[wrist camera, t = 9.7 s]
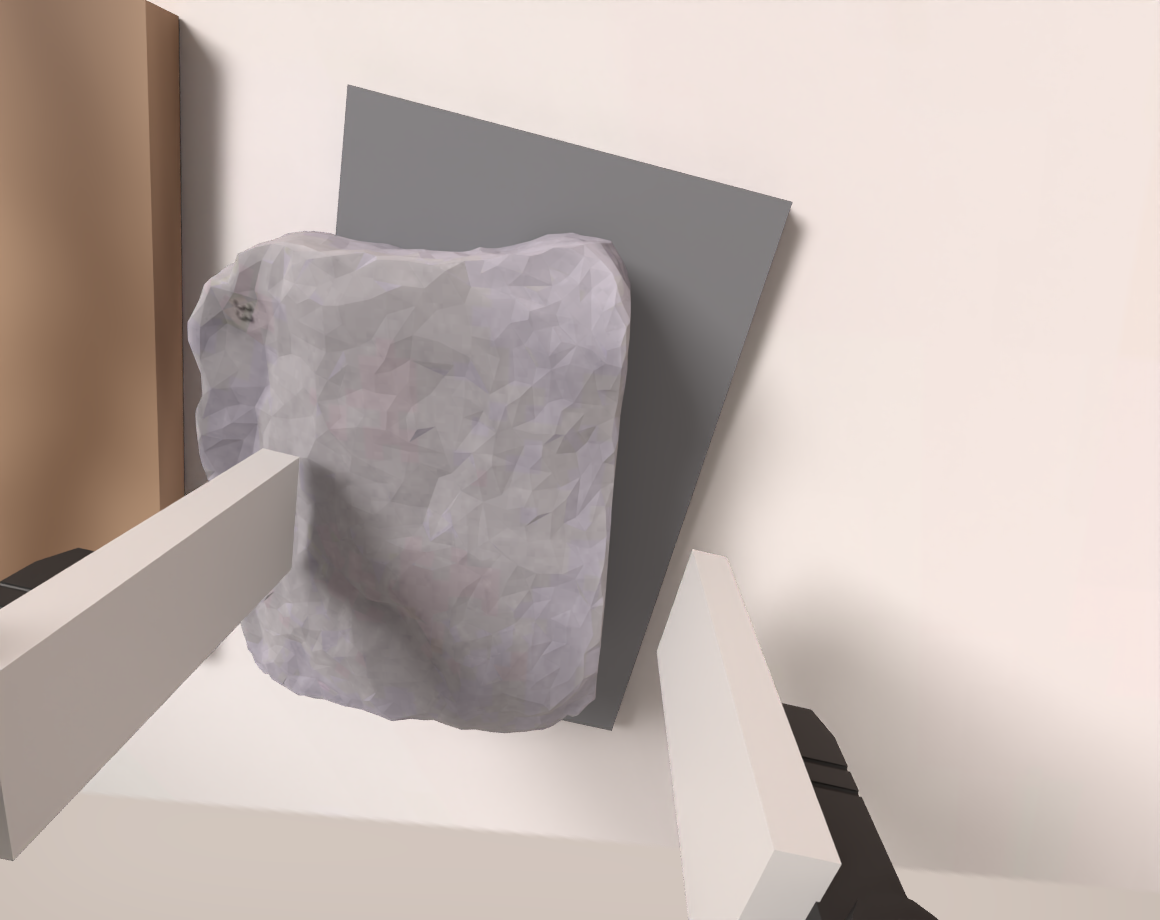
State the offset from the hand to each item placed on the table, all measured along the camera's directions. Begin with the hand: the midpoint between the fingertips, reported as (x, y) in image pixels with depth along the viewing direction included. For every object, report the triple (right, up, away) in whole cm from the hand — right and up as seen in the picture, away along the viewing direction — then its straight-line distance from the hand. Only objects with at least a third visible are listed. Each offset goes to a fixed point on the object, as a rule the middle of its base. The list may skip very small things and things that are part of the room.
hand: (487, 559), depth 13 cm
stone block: (-2, +2, +4) cm, 5 cm away
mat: (0, +2, +4) cm, 4 cm away
